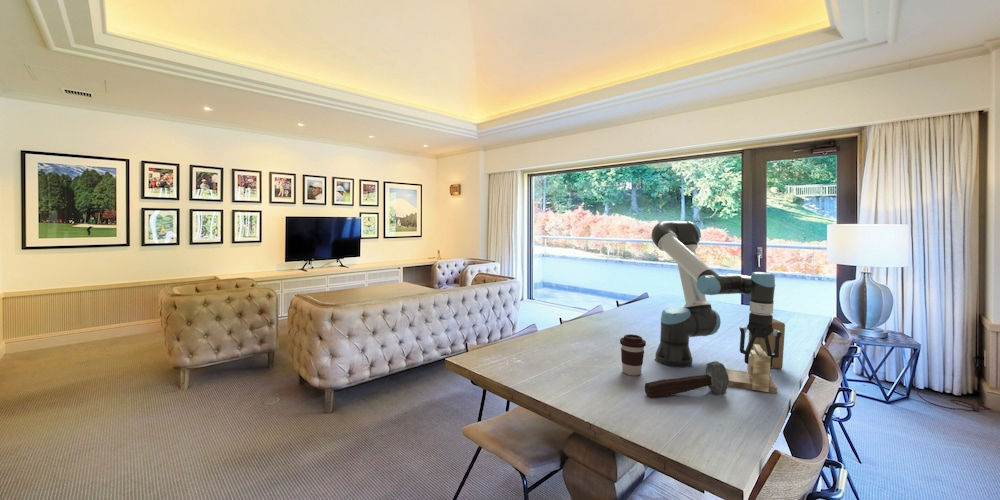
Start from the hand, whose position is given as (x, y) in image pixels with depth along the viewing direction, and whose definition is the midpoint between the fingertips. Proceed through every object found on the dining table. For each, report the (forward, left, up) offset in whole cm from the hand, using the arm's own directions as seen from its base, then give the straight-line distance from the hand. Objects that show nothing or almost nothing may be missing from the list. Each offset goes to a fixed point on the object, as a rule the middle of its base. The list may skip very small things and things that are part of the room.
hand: (757, 372), depth 154 cm
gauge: (0, -1, -4) cm, 4 cm away
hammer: (-25, -23, -5) cm, 34 cm away
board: (-5, 0, -4) cm, 6 cm away
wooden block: (+6, +26, -5) cm, 27 cm away
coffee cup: (-45, -10, -4) cm, 46 cm away
